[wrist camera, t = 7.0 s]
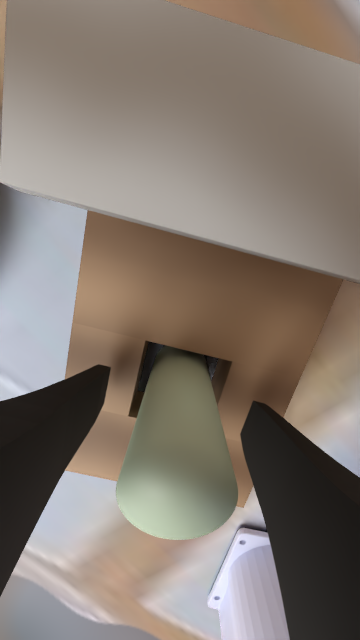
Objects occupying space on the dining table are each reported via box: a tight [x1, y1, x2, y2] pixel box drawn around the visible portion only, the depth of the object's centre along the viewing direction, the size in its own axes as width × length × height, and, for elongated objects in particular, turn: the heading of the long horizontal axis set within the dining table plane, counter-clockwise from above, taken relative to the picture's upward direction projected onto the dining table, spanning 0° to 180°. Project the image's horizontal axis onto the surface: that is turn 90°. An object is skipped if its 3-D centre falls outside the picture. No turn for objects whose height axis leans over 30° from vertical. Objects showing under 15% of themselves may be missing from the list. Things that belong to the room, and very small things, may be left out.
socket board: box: [0, 0, 360, 508], centre depth 10 cm, size 18×12×7 cm, turn 166°
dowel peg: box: [116, 345, 238, 540], centre depth 10 cm, size 3×3×8 cm
